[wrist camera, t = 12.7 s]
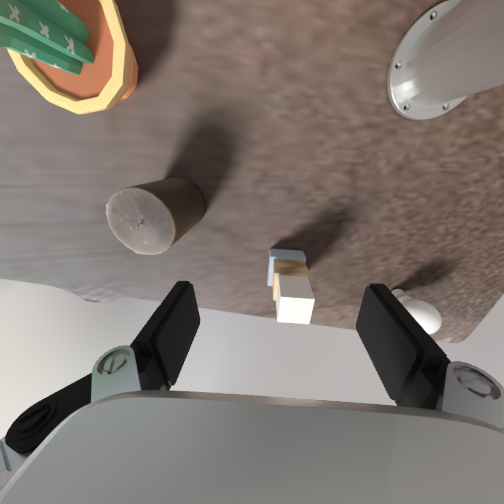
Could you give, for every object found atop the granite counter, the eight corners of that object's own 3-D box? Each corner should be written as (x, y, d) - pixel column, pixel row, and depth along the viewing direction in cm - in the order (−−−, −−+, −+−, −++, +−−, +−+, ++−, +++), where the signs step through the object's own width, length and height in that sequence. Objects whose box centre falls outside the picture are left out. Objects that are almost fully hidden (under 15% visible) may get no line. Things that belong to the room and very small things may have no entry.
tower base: (302, 250, 42) (306, 259, 38) (297, 277, 45) (300, 288, 41) (270, 248, 42) (270, 256, 38) (267, 275, 45) (267, 285, 41)
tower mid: (304, 260, 38) (309, 273, 34) (301, 285, 41) (305, 301, 36) (273, 259, 39) (274, 273, 34) (272, 284, 41) (273, 300, 37)
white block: (306, 276, 34) (314, 299, 29) (302, 299, 36) (309, 324, 31) (278, 274, 34) (280, 296, 29) (275, 297, 36) (277, 321, 31)
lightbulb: (373, 292, 45) (404, 330, 35) (399, 275, 43) (439, 310, 33) (390, 307, 46) (423, 347, 37) (415, 291, 44) (458, 330, 34)
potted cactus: (42, -18, 27) (-1146, -944, 4) (153, -3, 27) (-458, -874, 4) (74, 117, 33) (-317, 35, 11) (162, 129, 33) (-50, 71, 11)
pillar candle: (208, 184, 37) (173, 198, 23) (202, 231, 41) (169, 266, 28) (157, 171, 37) (92, 178, 23) (156, 220, 41) (101, 250, 27)
